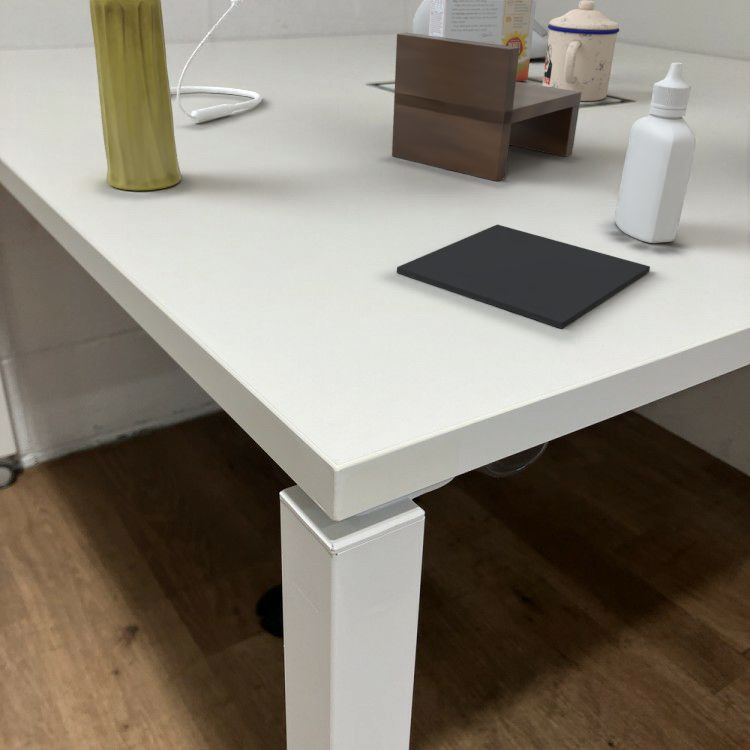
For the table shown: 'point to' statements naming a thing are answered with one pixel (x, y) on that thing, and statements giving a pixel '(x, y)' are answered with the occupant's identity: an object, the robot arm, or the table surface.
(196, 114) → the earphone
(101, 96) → the vase
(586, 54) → the teacup with lid
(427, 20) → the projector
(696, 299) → the table surface
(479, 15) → the cracker box
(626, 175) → the eye dropper bottle
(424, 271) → the mat
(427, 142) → the shelf
